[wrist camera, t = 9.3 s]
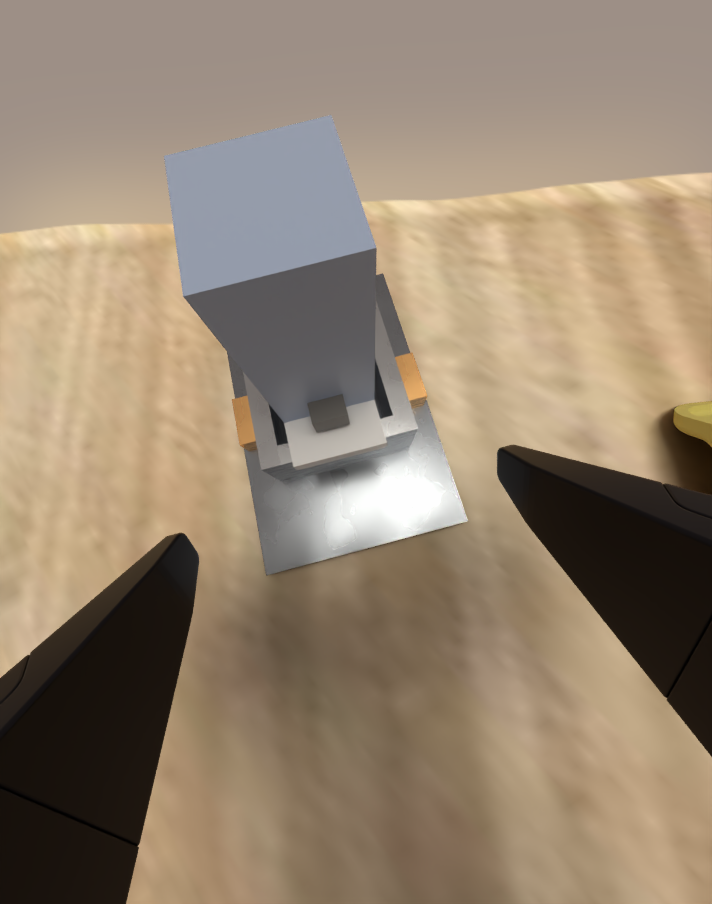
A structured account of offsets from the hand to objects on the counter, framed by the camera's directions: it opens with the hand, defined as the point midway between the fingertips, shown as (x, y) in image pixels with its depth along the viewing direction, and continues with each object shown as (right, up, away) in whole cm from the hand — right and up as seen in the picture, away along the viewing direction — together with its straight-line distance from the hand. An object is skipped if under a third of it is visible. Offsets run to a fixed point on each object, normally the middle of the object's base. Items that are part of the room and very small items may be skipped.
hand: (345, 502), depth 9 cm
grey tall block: (-1, +4, +11) cm, 12 cm away
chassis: (-1, +4, +13) cm, 13 cm away
